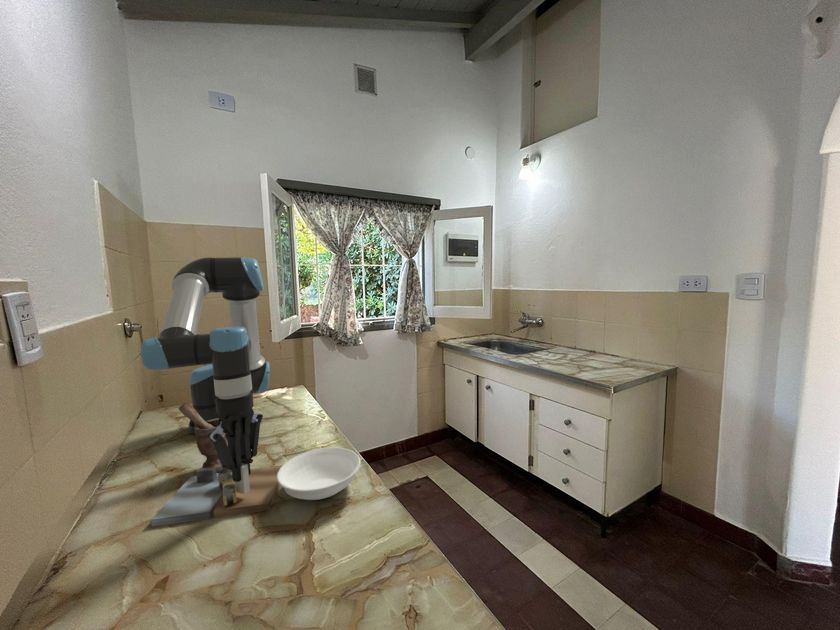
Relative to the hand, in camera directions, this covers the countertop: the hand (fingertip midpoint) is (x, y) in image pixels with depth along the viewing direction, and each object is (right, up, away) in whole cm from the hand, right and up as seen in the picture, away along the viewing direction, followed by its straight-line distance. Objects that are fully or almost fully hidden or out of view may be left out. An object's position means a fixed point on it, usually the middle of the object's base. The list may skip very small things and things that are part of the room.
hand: (243, 491), depth 78 cm
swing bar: (-4, -1, +2) cm, 5 cm away
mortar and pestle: (-18, -3, +16) cm, 25 cm away
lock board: (-6, -3, +4) cm, 8 cm away
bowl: (+17, -2, +4) cm, 18 cm away
